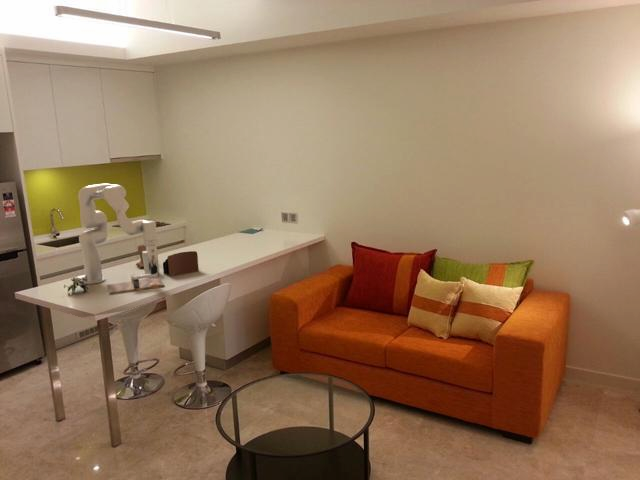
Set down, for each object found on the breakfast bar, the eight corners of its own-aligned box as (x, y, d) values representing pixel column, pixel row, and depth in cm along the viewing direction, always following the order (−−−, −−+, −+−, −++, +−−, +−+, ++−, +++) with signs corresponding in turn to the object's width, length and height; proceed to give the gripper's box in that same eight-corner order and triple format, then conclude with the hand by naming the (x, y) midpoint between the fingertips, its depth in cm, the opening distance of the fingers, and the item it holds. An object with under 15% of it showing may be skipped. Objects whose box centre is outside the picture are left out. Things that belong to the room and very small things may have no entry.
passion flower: (86, 300, 312) (94, 285, 308) (68, 302, 303) (76, 286, 299) (76, 287, 317) (84, 272, 313) (59, 288, 307) (67, 273, 303)
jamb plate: (109, 294, 303) (108, 284, 302) (107, 286, 319) (106, 277, 318) (164, 286, 316) (163, 277, 315) (159, 279, 332) (158, 270, 331)
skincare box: (157, 271, 351) (155, 249, 348) (159, 273, 346) (157, 250, 343) (144, 273, 347) (141, 250, 344) (146, 275, 342) (143, 252, 339)
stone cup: (150, 262, 377) (148, 241, 374) (161, 264, 370) (159, 242, 367) (131, 266, 365) (129, 245, 362) (141, 269, 358) (139, 247, 355)
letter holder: (199, 271, 349) (197, 250, 346) (169, 277, 337) (167, 255, 334) (192, 268, 357) (190, 247, 354) (163, 274, 345) (161, 252, 342)
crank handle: (132, 280, 308) (131, 267, 307) (131, 278, 312) (129, 265, 310) (158, 276, 315) (156, 263, 313) (156, 274, 319) (155, 262, 317)
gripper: (159, 244, 305) (162, 273, 308) (155, 239, 320) (157, 267, 324) (146, 245, 302) (148, 275, 305) (141, 240, 317) (144, 268, 321)
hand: (153, 271), depth 315 cm, fingers open, 9 cm apart
